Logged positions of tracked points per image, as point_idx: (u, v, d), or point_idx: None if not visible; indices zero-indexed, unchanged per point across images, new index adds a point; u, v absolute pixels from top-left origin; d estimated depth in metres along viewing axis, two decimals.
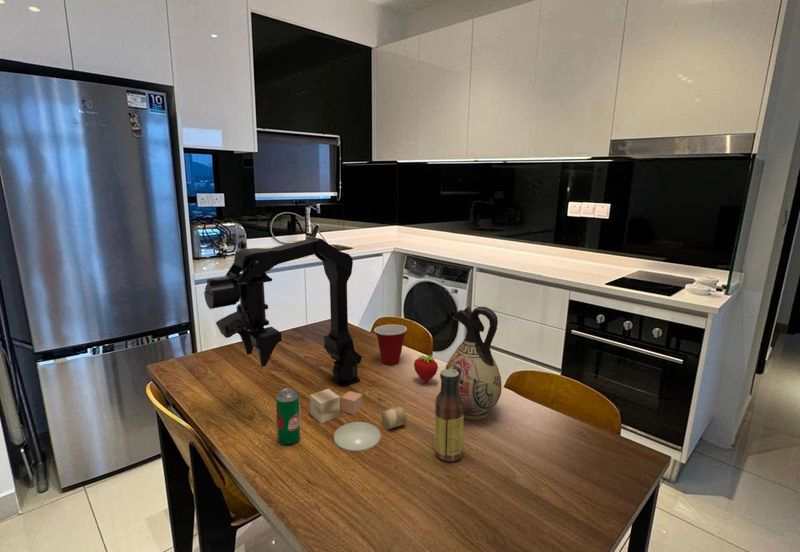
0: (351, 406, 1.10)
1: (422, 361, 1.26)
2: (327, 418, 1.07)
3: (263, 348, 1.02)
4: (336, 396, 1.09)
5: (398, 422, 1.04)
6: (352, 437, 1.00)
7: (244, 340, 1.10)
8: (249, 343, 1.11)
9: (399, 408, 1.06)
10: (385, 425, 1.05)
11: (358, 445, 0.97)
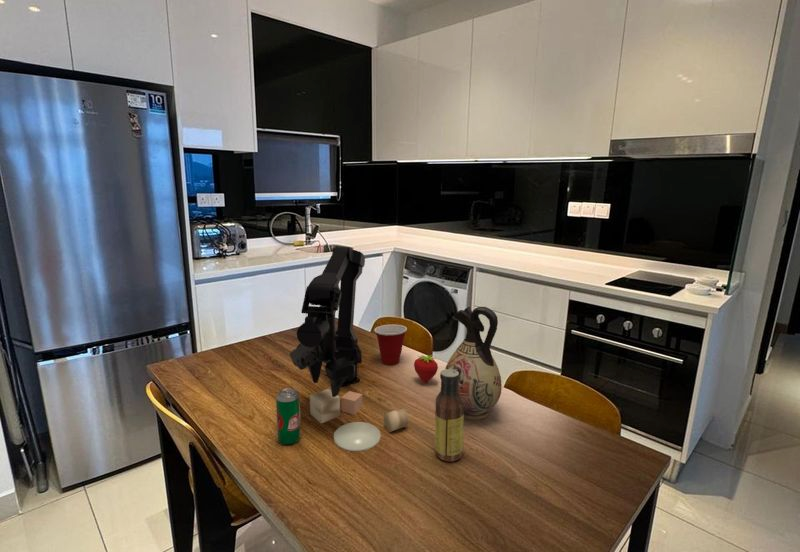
0: (351, 406, 1.10)
1: (422, 361, 1.26)
2: (327, 418, 1.07)
3: (335, 379, 1.03)
4: (336, 396, 1.09)
5: (400, 427, 1.04)
6: (352, 437, 1.00)
7: (311, 369, 1.10)
8: (316, 372, 1.11)
9: (403, 413, 1.04)
10: (386, 425, 1.05)
11: (358, 445, 0.97)
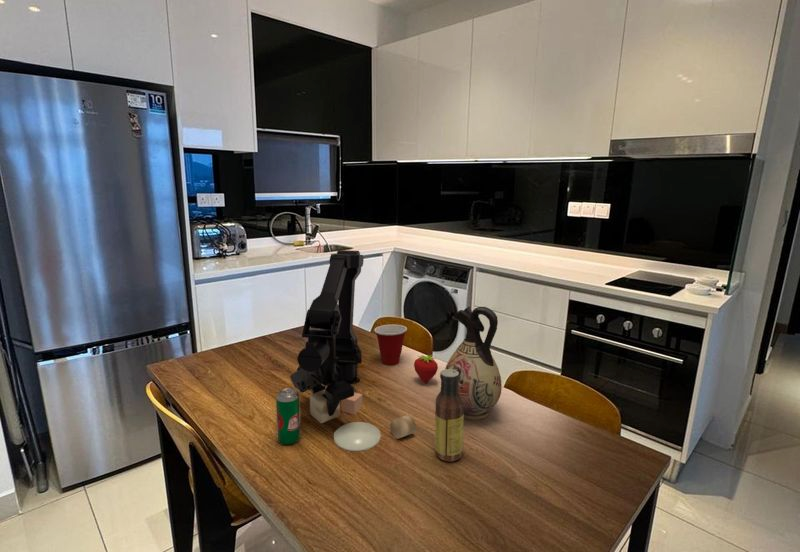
0: (351, 406, 1.10)
1: (422, 361, 1.26)
2: (327, 418, 1.07)
3: None
4: None
5: None
6: (352, 437, 1.00)
7: None
8: None
9: (412, 432, 1.01)
10: (392, 423, 1.02)
11: (358, 445, 0.97)
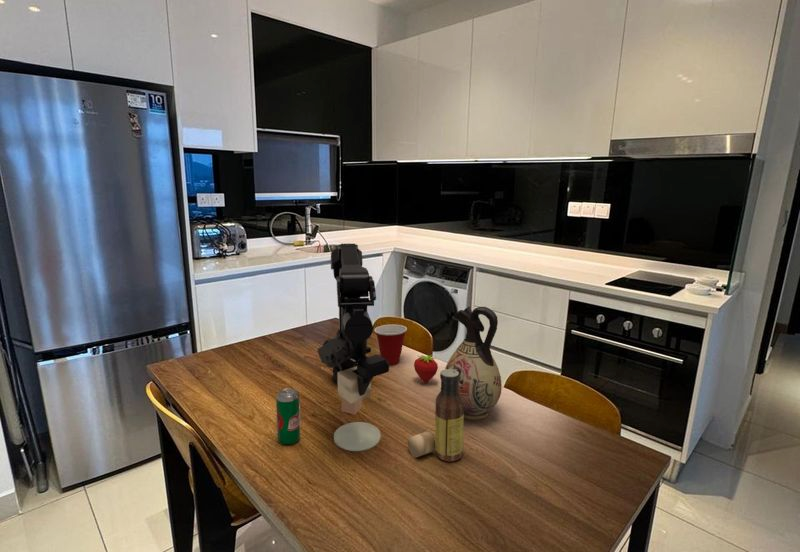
0: (351, 406, 1.10)
1: (422, 361, 1.26)
2: (357, 397, 0.96)
3: (363, 376, 0.94)
4: None
5: (427, 444, 0.94)
6: (352, 437, 1.00)
7: None
8: None
9: (424, 432, 0.97)
10: (414, 454, 0.94)
11: (358, 445, 0.97)
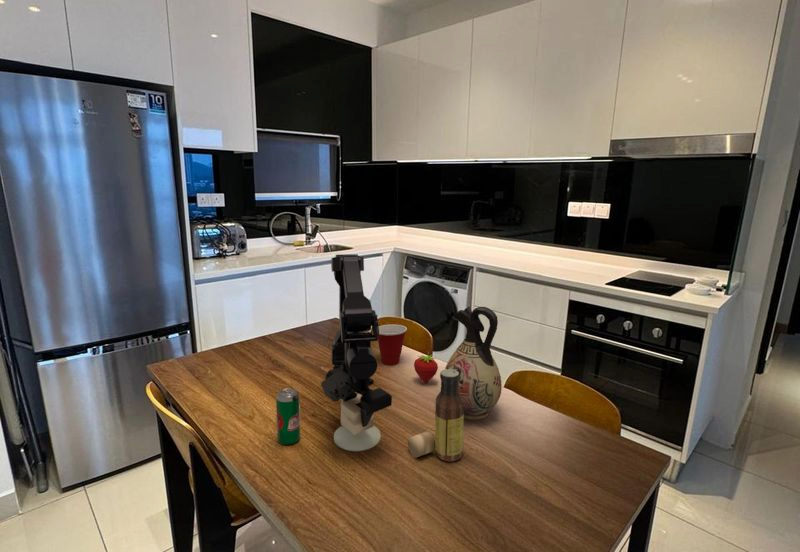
0: None
1: (422, 361, 1.26)
2: (360, 429, 0.98)
3: None
4: None
5: (427, 444, 0.94)
6: (352, 437, 1.00)
7: None
8: None
9: (424, 432, 0.97)
10: (414, 454, 0.94)
11: (358, 445, 0.97)
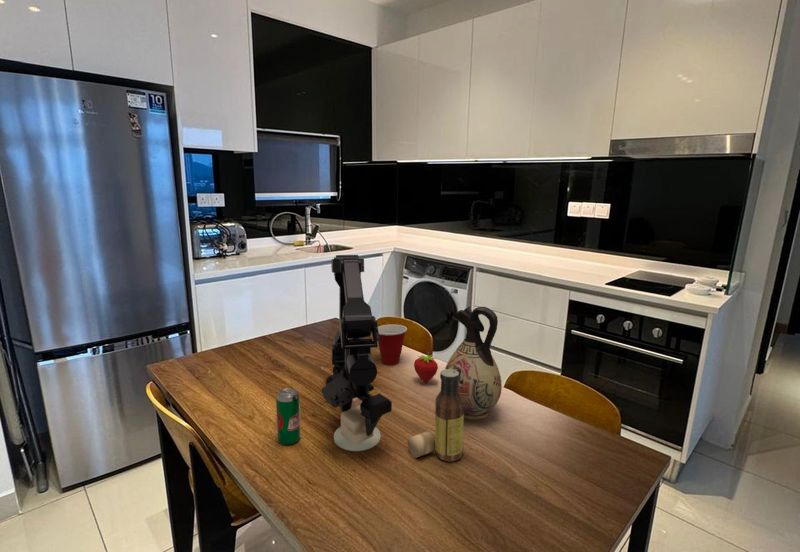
0: (351, 406, 1.10)
1: (422, 361, 1.26)
2: (360, 438, 0.98)
3: None
4: None
5: (427, 444, 0.94)
6: None
7: None
8: (347, 406, 1.03)
9: (424, 432, 0.97)
10: (414, 454, 0.94)
11: (358, 445, 0.97)
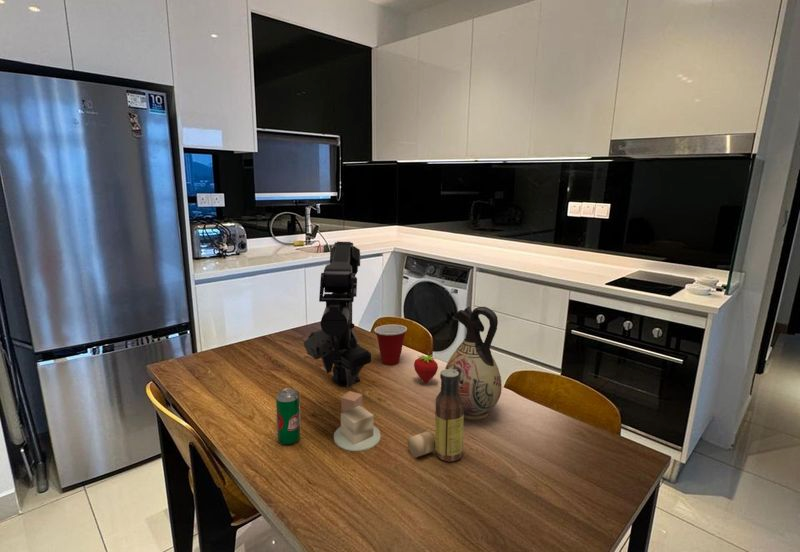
0: (351, 406, 1.10)
1: (422, 361, 1.26)
2: (360, 438, 0.98)
3: (351, 369, 0.99)
4: (369, 414, 1.00)
5: (426, 444, 0.94)
6: None
7: (325, 359, 1.06)
8: (329, 361, 1.07)
9: (424, 432, 0.97)
10: (414, 454, 0.94)
11: (358, 445, 0.97)
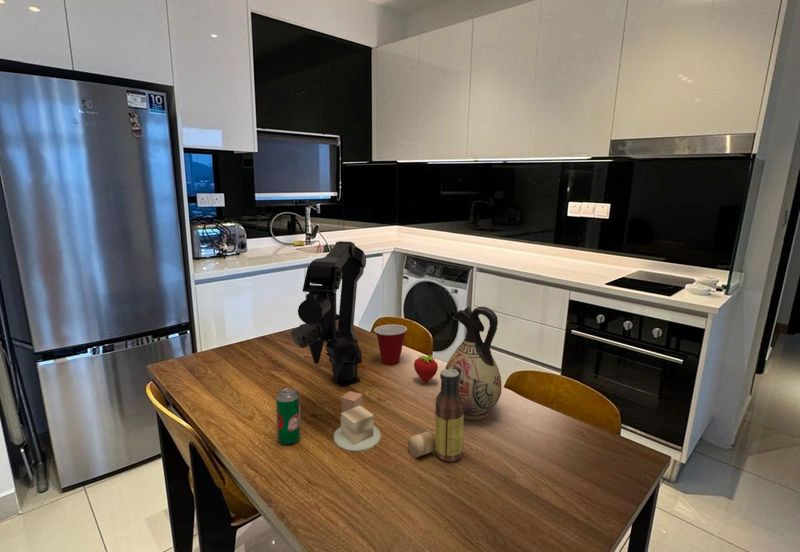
0: (351, 406, 1.10)
1: (422, 361, 1.26)
2: (360, 438, 0.98)
3: (336, 358, 1.03)
4: (369, 414, 1.00)
5: (427, 444, 0.94)
6: None
7: (312, 350, 1.11)
8: (317, 352, 1.11)
9: (424, 432, 0.97)
10: (414, 454, 0.94)
11: (358, 445, 0.97)
